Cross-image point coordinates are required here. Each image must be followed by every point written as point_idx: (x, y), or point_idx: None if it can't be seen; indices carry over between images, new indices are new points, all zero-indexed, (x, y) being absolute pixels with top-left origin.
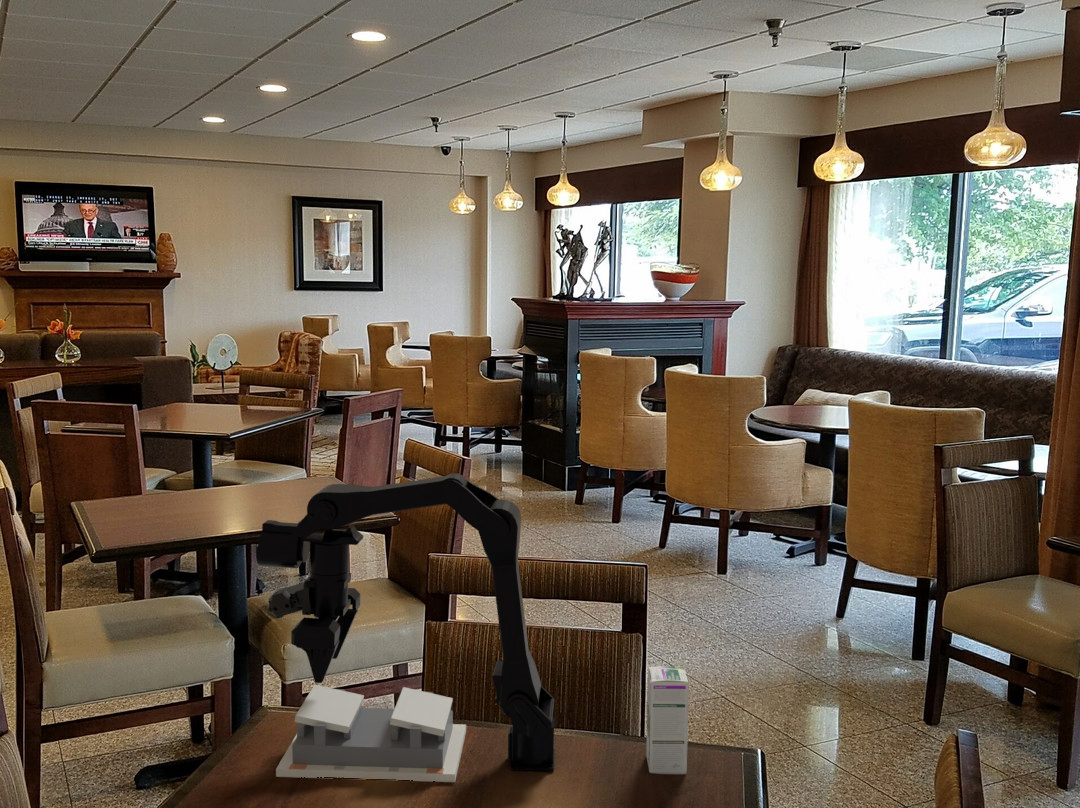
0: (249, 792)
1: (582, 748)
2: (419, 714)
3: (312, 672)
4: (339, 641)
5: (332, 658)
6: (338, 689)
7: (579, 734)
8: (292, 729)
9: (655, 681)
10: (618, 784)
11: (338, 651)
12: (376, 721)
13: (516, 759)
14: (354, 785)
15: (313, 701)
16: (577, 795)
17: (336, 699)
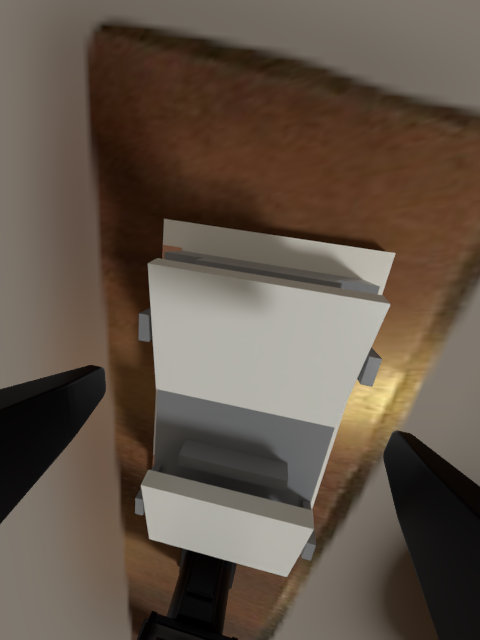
0: (116, 176)
1: (237, 607)
2: (186, 524)
3: (27, 383)
4: (438, 586)
5: (389, 439)
6: (376, 369)
7: (274, 616)
8: (381, 223)
9: None
10: (156, 606)
11: (395, 503)
12: (266, 421)
13: (193, 552)
14: (146, 354)
15: (258, 307)
16: (133, 571)
17: (291, 366)
